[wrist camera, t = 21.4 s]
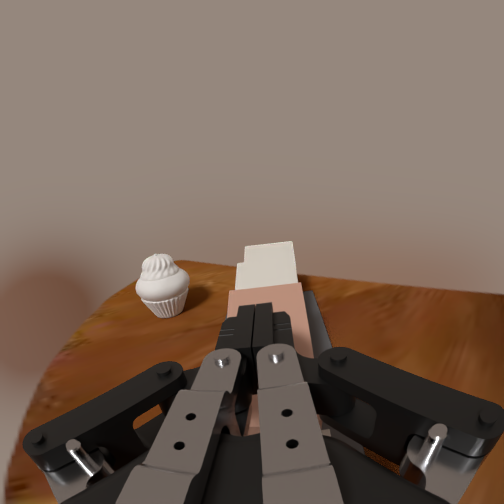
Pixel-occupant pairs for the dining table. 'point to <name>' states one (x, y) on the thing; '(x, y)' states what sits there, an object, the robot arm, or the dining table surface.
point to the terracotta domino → (282, 300)
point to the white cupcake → (163, 286)
